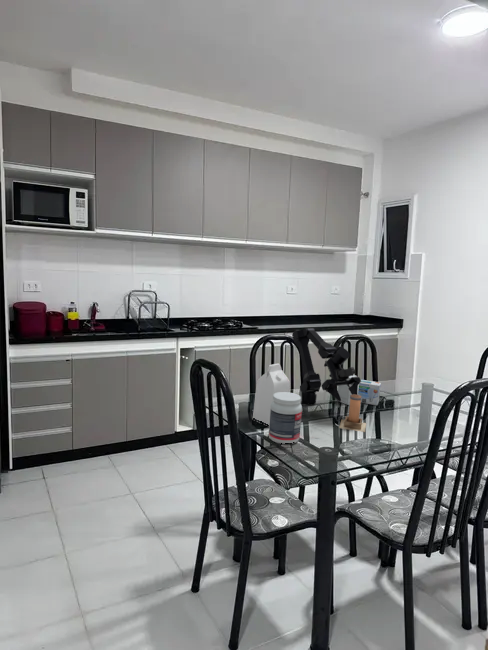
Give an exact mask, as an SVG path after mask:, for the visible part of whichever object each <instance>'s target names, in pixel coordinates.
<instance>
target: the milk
mask: <svg viewBox="0 0 488 650" xmlns="http://www.w3.org/2000/svg"><path fill="white" fill-rule="evenodd" d="M278 392H290V393H291V381H290V380H289V377H287V375H286V374H285V372H284V370H282V366H281V364H280V363H273V364H269V365H268V367H267V371H266V372H265V373H264V374H262V375H261V376H260V377H259V378H258V379H257V381H256V388H255V396H254V397H255V398H254V404H253V412H252V413H253V414H252V419H253V418H255V419H257V420H259V421H262V422H264V423H266V424H268V425H269V421H270V406H271V403H272V402H273V401H274V400H273V395H274V394H275V393H278Z"/></svg>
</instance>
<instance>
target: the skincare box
mask: <svg viewBox="0 0 488 650" xmlns="http://www.w3.org/2000/svg"><path fill="white" fill-rule="evenodd" d="M352 377H358V376H357V375H355V374H353V376H349V378H348V379H346V380H350V379H351V378H352ZM348 388H349V387H348V386H347V385H339V386H337V391H338V393H339V396H340V398H341V401H340V402H339V401H338V400H337V399H336V401H337V402H339V403H342V404H345V405H348V406H350V395H352V394H351V392H350V391H349V389H348Z"/></svg>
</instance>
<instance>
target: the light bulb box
mask: <svg viewBox="0 0 488 650" xmlns="http://www.w3.org/2000/svg"><path fill="white" fill-rule="evenodd" d="M360 380H361V382H360V383H359V385H358V388H357V395H360V396H362V399H361V403H362V404H367V405H373V406H378V405H379V402H380V394H381V387H382V386H381V385H382V383H381V382H379V381H378V382H377V381H373V380H365V379H360Z"/></svg>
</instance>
